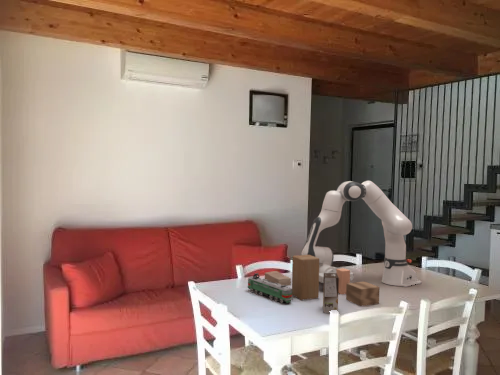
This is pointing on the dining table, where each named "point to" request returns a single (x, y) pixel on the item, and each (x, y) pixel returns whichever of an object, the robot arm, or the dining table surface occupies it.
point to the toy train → (270, 289)
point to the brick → (278, 278)
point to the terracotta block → (343, 279)
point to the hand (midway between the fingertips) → (343, 280)
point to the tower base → (362, 293)
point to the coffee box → (330, 292)
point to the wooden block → (305, 277)
